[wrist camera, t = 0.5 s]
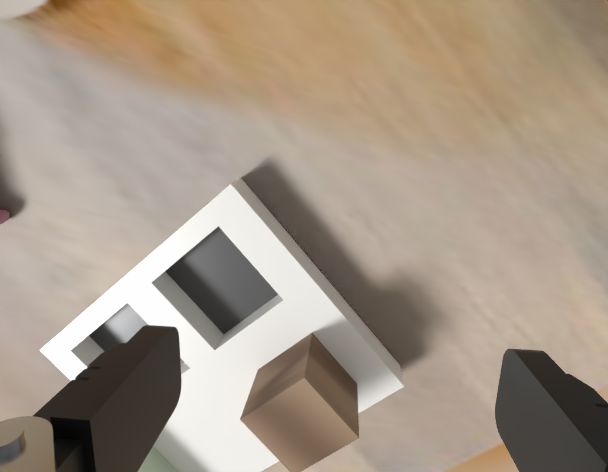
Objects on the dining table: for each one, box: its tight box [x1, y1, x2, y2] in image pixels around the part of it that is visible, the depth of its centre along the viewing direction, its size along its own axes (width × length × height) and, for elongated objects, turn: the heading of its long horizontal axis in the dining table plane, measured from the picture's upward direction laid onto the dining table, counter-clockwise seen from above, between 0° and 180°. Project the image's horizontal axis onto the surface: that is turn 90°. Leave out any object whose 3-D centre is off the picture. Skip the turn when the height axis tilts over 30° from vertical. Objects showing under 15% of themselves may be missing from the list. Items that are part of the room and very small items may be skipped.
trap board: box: [40, 178, 404, 472], centre depth 29 cm, size 20×18×5 cm
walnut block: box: [240, 333, 359, 472], centre depth 26 cm, size 5×5×5 cm
